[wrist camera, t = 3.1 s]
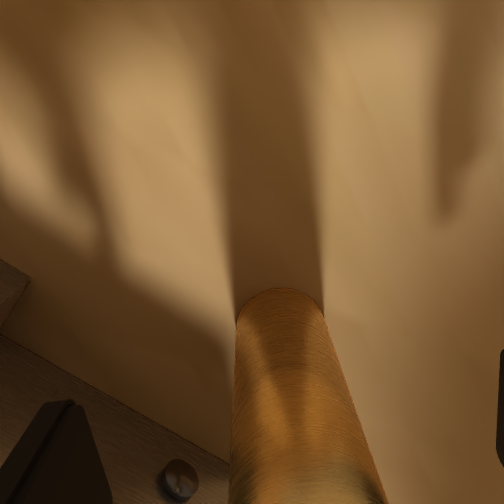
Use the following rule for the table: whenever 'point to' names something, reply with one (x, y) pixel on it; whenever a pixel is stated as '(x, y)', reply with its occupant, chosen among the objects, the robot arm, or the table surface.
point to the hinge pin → (294, 411)
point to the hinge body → (103, 426)
